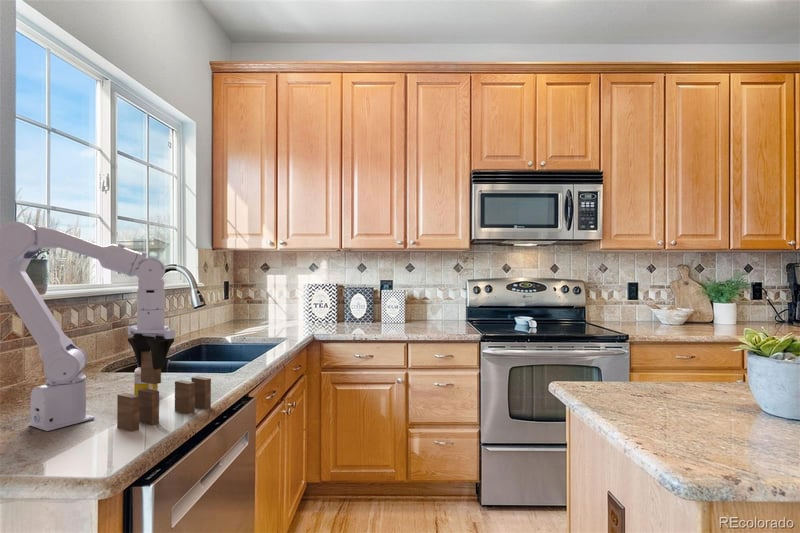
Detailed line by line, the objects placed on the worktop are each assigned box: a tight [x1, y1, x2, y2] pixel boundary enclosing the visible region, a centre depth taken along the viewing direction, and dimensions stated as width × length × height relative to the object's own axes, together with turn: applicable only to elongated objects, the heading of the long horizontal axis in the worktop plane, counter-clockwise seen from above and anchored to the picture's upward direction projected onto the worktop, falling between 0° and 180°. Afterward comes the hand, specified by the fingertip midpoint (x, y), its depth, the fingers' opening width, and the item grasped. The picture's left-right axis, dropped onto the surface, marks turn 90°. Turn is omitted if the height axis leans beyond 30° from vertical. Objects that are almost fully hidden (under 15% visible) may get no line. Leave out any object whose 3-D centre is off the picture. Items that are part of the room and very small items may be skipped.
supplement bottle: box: [133, 364, 159, 396], centre depth 124 cm, size 5×5×10 cm
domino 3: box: [138, 388, 160, 426], centre depth 104 cm, size 2×5×7 cm, turn 61°
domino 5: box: [190, 375, 212, 410], centre depth 116 cm, size 2×5×7 cm, turn 61°
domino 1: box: [116, 392, 140, 433], centre depth 100 cm, size 2×5×7 cm, turn 61°
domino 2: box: [141, 350, 162, 385], centre depth 111 cm, size 2×5×7 cm, turn 62°
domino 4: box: [174, 379, 196, 415], centre depth 112 cm, size 2×5×7 cm, turn 61°
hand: (150, 367), depth 111 cm, fingers closed on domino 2, 5 cm apart
